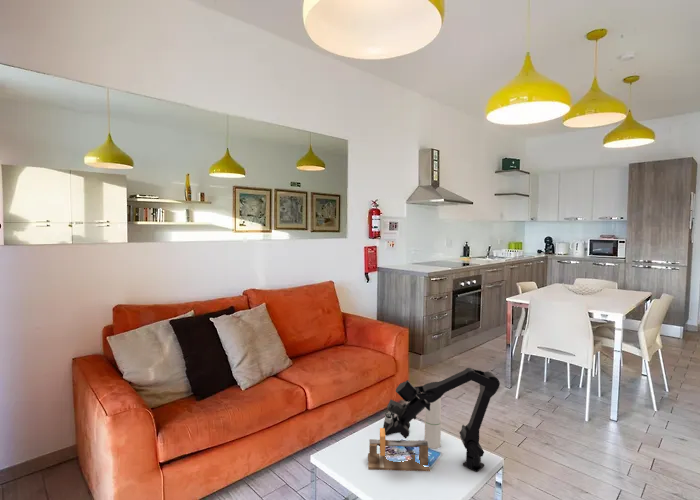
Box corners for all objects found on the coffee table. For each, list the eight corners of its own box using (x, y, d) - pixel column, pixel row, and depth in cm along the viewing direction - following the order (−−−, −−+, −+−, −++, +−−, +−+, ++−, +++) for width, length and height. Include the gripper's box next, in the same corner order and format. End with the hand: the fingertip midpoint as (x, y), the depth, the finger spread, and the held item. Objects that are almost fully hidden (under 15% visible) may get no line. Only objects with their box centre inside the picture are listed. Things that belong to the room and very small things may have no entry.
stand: (426, 457, 165) (426, 437, 164) (430, 471, 155) (430, 450, 154) (368, 455, 166) (368, 436, 165) (368, 469, 156) (368, 449, 155)
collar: (384, 446, 164) (384, 428, 163) (385, 455, 157) (385, 436, 156) (379, 446, 164) (379, 427, 164) (380, 455, 157) (380, 436, 157)
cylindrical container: (439, 440, 178) (440, 387, 177) (441, 449, 171) (442, 393, 170) (423, 439, 179) (424, 386, 178) (425, 448, 172) (426, 393, 171)
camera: (399, 442, 179) (403, 422, 178) (379, 431, 185) (382, 412, 183) (411, 429, 191) (415, 410, 190) (392, 419, 197) (396, 401, 196)
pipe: (426, 445, 161) (426, 439, 161) (427, 448, 158) (427, 442, 158) (369, 443, 162) (369, 437, 162) (369, 447, 159) (369, 441, 159)
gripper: (397, 386, 168) (371, 410, 169) (401, 404, 150) (372, 431, 151) (414, 404, 168) (389, 428, 169) (421, 425, 150) (392, 452, 151)
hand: (385, 434), depth 160 cm, fingers closed, pressing on collar
